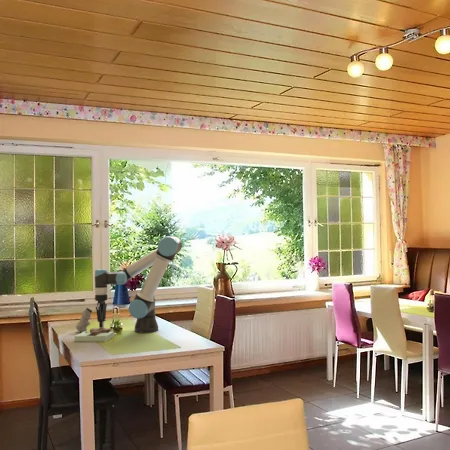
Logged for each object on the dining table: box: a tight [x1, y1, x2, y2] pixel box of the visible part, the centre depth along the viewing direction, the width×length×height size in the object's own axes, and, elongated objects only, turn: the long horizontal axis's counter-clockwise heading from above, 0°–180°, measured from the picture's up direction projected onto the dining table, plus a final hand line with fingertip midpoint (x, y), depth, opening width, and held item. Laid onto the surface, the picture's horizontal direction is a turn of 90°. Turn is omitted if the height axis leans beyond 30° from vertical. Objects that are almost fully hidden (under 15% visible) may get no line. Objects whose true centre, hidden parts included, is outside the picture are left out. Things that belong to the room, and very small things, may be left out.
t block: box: [89, 327, 112, 336], centre depth 322 cm, size 12×12×4 cm
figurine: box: [75, 307, 93, 333], centre depth 340 cm, size 9×10×15 cm
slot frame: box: [74, 330, 115, 342], centre depth 316 cm, size 19×14×3 cm
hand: (101, 332), depth 328 cm, fingers closed
